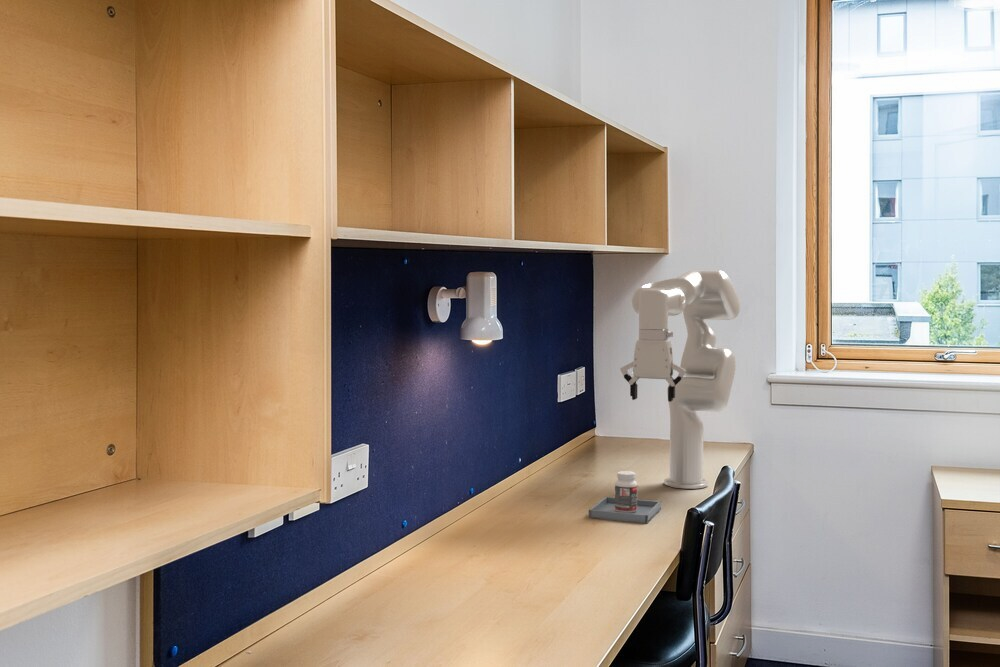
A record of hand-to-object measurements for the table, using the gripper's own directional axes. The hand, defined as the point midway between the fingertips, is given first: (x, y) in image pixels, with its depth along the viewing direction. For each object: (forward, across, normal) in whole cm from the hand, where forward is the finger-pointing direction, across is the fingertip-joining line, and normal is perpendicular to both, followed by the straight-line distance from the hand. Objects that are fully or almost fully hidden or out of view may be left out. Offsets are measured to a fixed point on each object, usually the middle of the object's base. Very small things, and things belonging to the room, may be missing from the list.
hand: (652, 400), depth 257 cm
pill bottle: (+28, +4, +12) cm, 30 cm away
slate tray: (+28, +4, +12) cm, 31 cm away
